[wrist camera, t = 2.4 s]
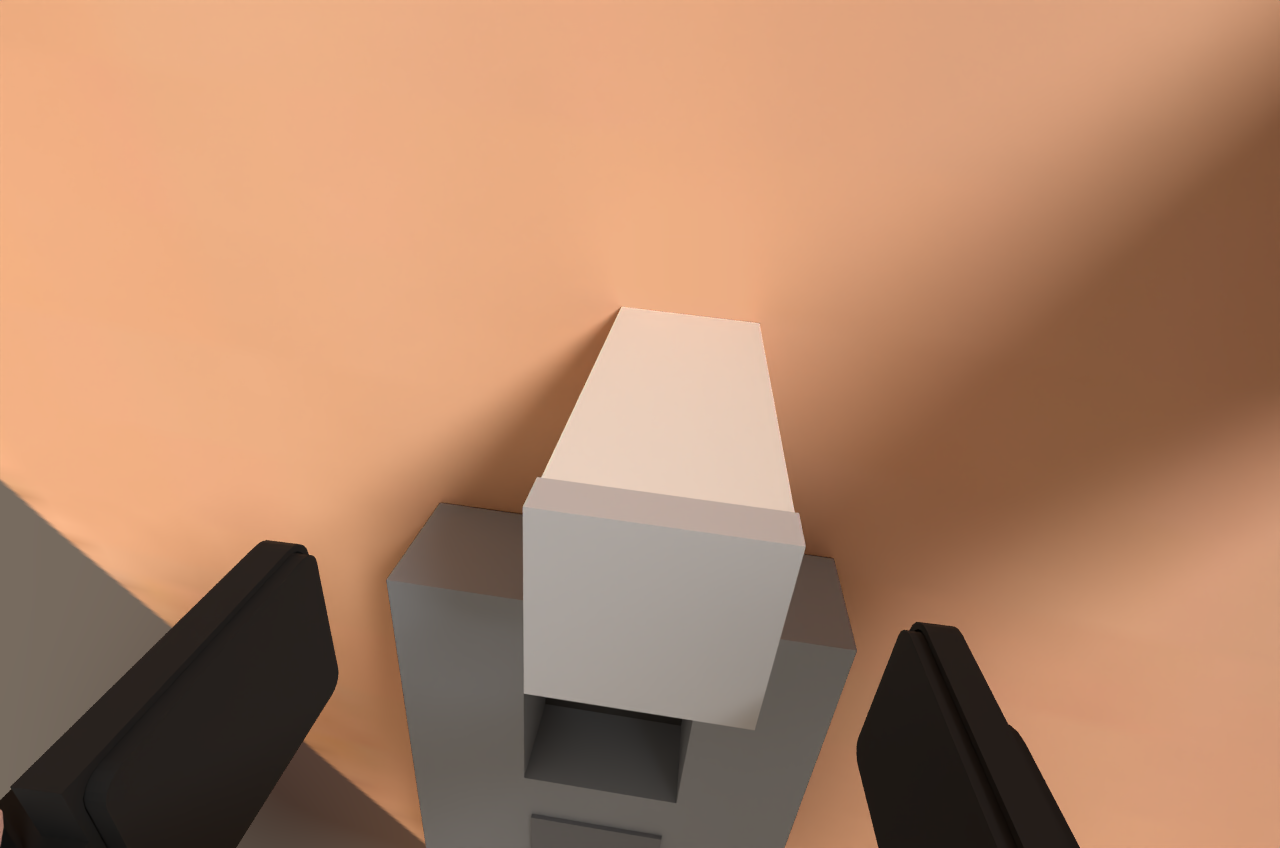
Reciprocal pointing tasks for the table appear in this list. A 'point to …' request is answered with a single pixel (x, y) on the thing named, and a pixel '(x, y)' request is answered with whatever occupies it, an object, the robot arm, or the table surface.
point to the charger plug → (663, 528)
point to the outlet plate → (590, 716)
